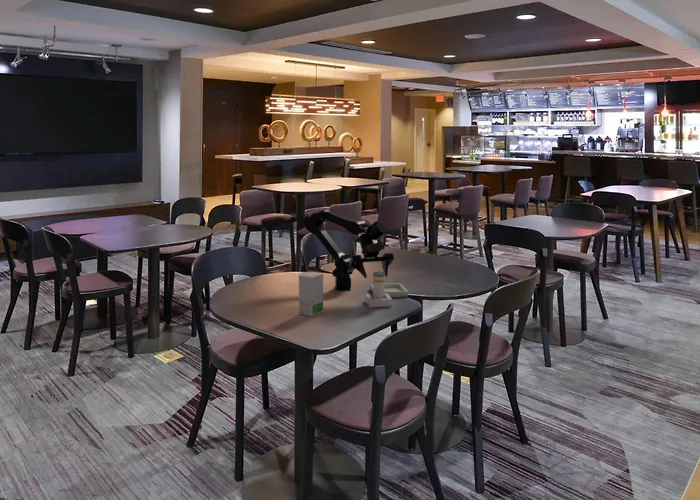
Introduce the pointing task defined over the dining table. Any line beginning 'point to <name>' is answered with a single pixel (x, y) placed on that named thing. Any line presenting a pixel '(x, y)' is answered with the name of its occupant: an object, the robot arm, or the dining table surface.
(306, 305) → the skincare box
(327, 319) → the dining table surface
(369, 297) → the tray
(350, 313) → the dining table surface
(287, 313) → the dining table surface
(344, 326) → the dining table surface
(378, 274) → the white cylinder
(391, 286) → the tray
